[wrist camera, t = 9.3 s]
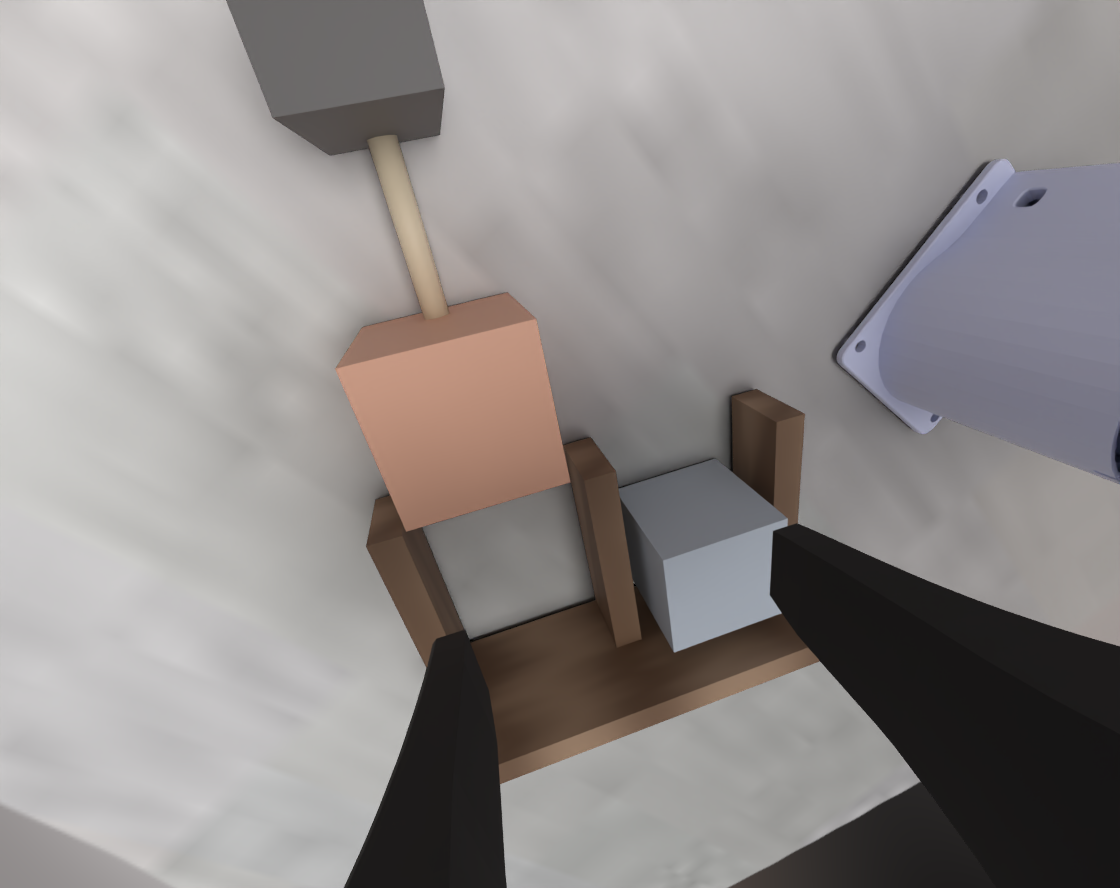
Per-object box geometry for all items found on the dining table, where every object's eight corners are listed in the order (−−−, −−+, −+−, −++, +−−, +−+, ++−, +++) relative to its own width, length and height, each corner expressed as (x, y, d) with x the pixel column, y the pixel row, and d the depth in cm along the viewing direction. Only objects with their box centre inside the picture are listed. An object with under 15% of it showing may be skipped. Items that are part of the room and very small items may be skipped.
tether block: (436, -13, 12) (439, -162, 8) (537, 420, 18) (575, 490, 14) (240, 16, 12) (108, -128, 7) (412, 455, 18) (405, 542, 13)
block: (715, 458, 22) (787, 518, 17) (719, 540, 24) (783, 612, 19) (614, 489, 21) (663, 560, 17) (628, 571, 23) (673, 652, 19)
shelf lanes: (756, 389, 20) (869, 447, 15) (754, 562, 25) (839, 653, 20) (375, 499, 18) (352, 612, 13) (452, 667, 23) (458, 800, 18)
